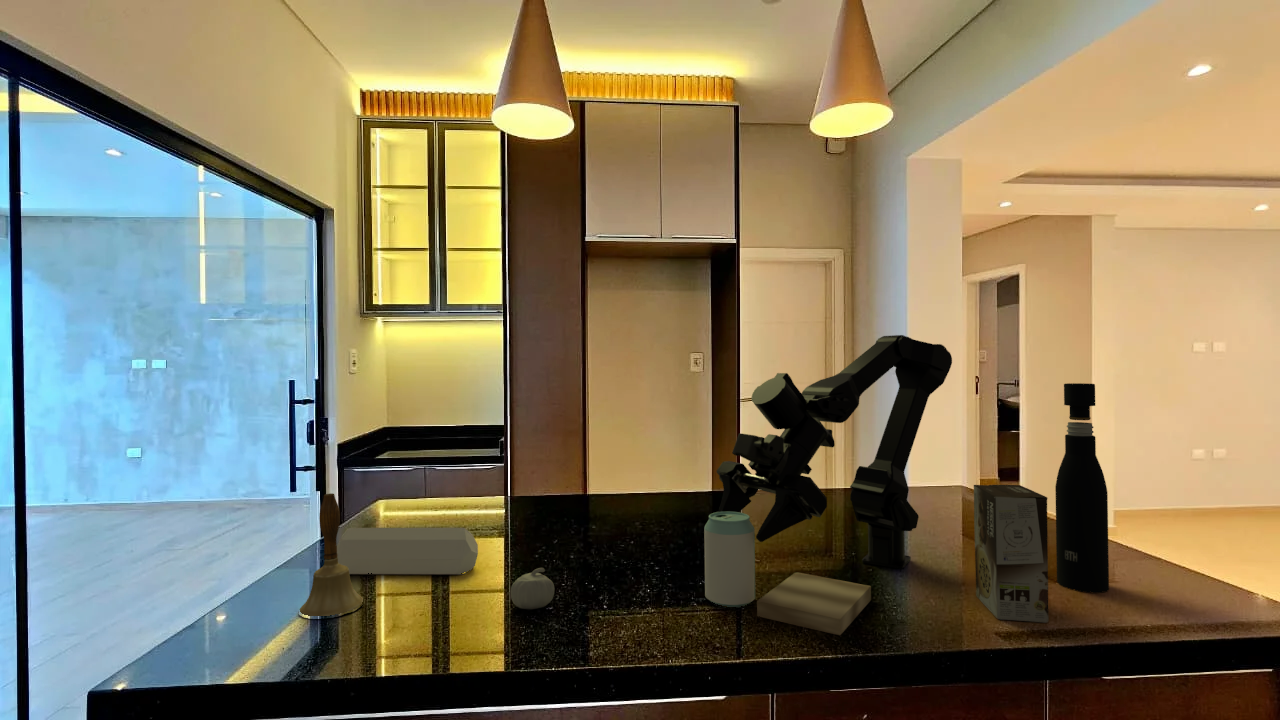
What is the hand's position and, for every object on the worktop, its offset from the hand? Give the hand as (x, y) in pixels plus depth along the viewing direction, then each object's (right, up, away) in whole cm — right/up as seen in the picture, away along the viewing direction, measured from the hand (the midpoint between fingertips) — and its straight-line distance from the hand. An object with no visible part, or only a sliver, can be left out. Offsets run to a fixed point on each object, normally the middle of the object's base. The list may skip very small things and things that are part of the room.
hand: (737, 532), depth 91 cm
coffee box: (+36, -9, -5) cm, 38 cm away
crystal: (-53, -11, +15) cm, 56 cm away
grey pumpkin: (-29, -10, -2) cm, 31 cm away
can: (-1, -10, -1) cm, 10 cm away
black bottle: (+52, -9, +4) cm, 53 cm away
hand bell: (-57, -10, -2) cm, 58 cm away
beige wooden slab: (+10, -10, -4) cm, 15 cm away
